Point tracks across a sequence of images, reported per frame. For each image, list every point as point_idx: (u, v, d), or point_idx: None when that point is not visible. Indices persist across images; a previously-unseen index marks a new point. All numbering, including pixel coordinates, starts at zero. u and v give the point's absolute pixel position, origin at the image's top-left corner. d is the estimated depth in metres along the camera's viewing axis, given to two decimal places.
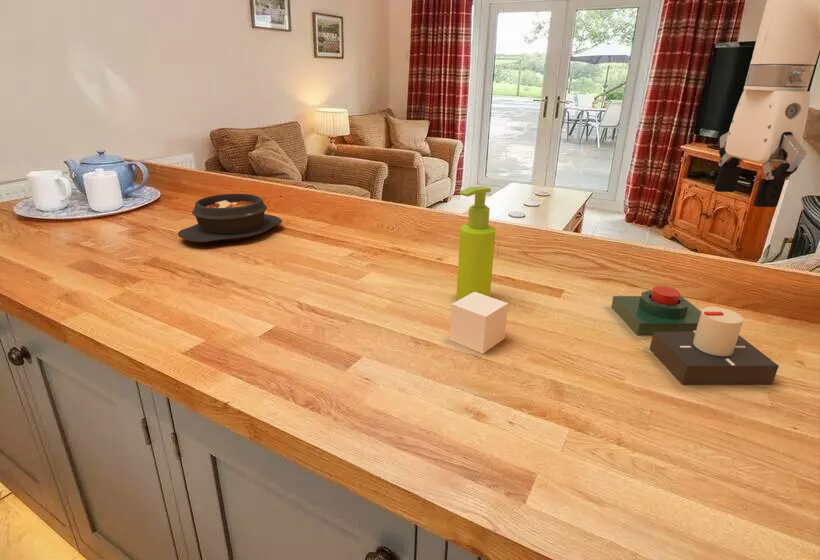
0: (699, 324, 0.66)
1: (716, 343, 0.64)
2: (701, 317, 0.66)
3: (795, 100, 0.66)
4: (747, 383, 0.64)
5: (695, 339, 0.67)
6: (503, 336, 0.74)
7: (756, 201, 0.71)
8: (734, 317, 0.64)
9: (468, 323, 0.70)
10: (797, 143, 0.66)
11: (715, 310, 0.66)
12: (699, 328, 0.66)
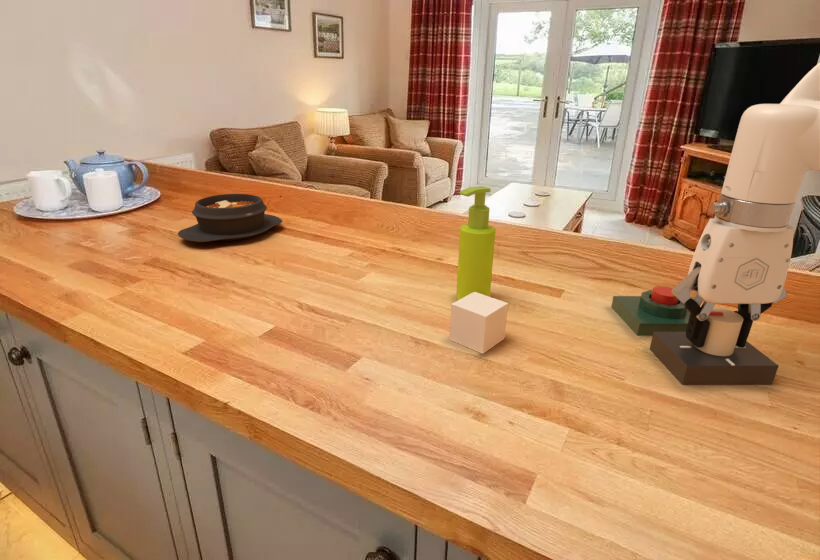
0: None
1: (716, 343, 0.64)
2: None
3: (709, 231, 0.60)
4: (747, 383, 0.64)
5: None
6: (503, 336, 0.74)
7: None
8: (734, 317, 0.64)
9: (468, 323, 0.70)
10: (686, 282, 0.63)
11: (715, 310, 0.66)
12: None
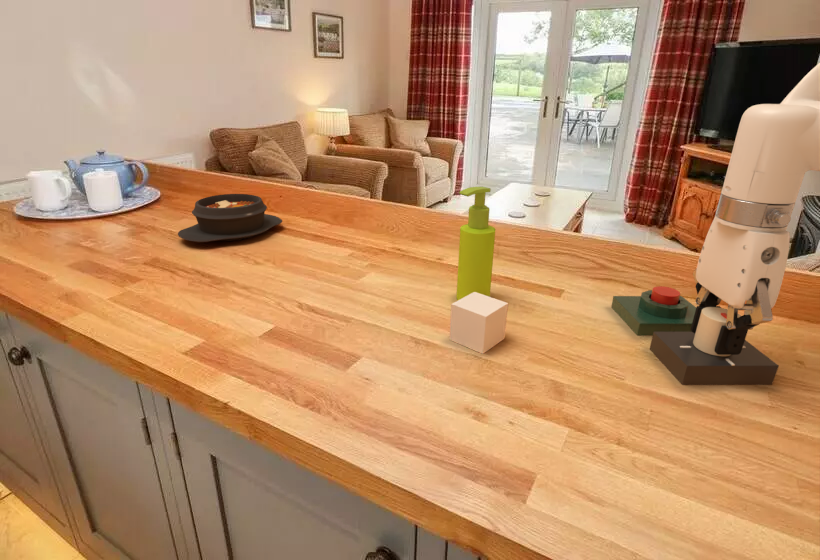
0: None
1: None
2: None
3: (772, 244, 0.56)
4: (747, 383, 0.64)
5: None
6: (503, 336, 0.74)
7: (717, 349, 0.64)
8: (722, 310, 0.66)
9: (468, 323, 0.70)
10: (767, 302, 0.58)
11: (714, 315, 0.65)
12: None
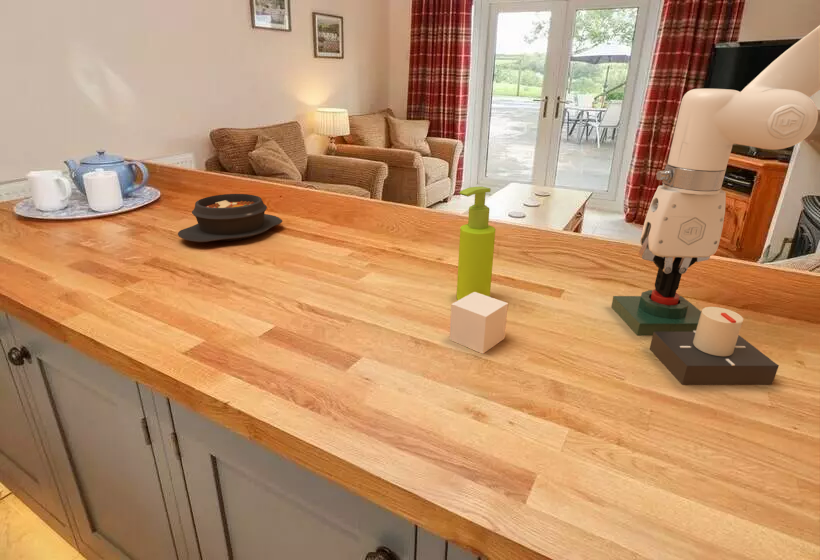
0: (725, 335, 0.64)
1: (736, 340, 0.65)
2: (728, 327, 0.63)
3: (657, 196, 0.72)
4: (747, 383, 0.64)
5: (721, 350, 0.64)
6: (503, 336, 0.74)
7: None
8: (722, 310, 0.66)
9: (468, 323, 0.70)
10: (646, 244, 0.75)
11: (714, 315, 0.65)
12: (728, 337, 0.64)
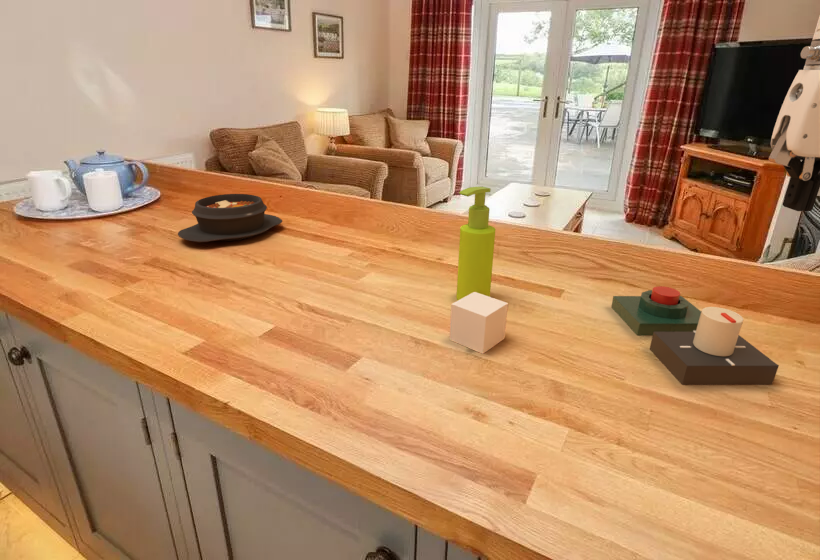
0: (725, 335, 0.64)
1: (736, 340, 0.65)
2: (728, 327, 0.63)
3: (800, 80, 0.59)
4: (747, 383, 0.64)
5: (721, 350, 0.64)
6: (503, 336, 0.74)
7: None
8: (722, 310, 0.66)
9: (468, 323, 0.70)
10: (781, 144, 0.62)
11: (714, 315, 0.65)
12: (728, 337, 0.64)
